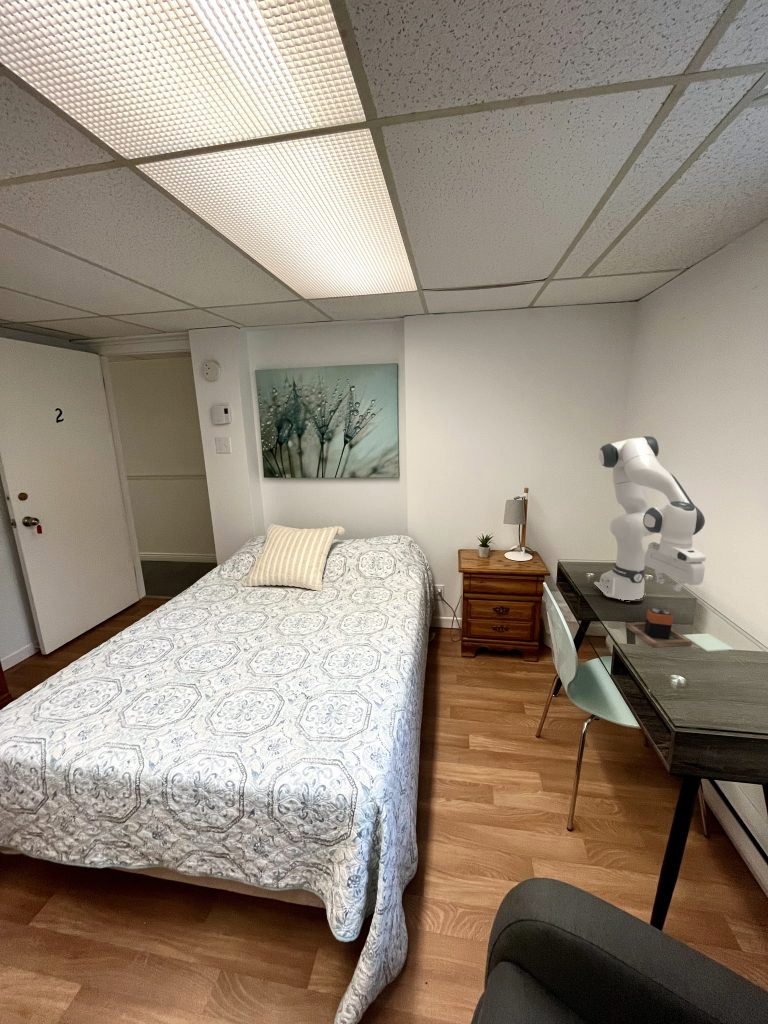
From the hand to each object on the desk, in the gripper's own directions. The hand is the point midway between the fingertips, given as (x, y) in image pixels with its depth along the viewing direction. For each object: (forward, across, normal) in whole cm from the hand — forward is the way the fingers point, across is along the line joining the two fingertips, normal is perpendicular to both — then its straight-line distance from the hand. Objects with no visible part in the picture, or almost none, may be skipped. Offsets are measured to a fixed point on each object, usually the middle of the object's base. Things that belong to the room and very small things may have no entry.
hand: (668, 586), depth 138 cm
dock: (+19, 0, -1) cm, 19 cm away
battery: (+19, -1, -1) cm, 19 cm away
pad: (+19, +7, +13) cm, 24 cm away
